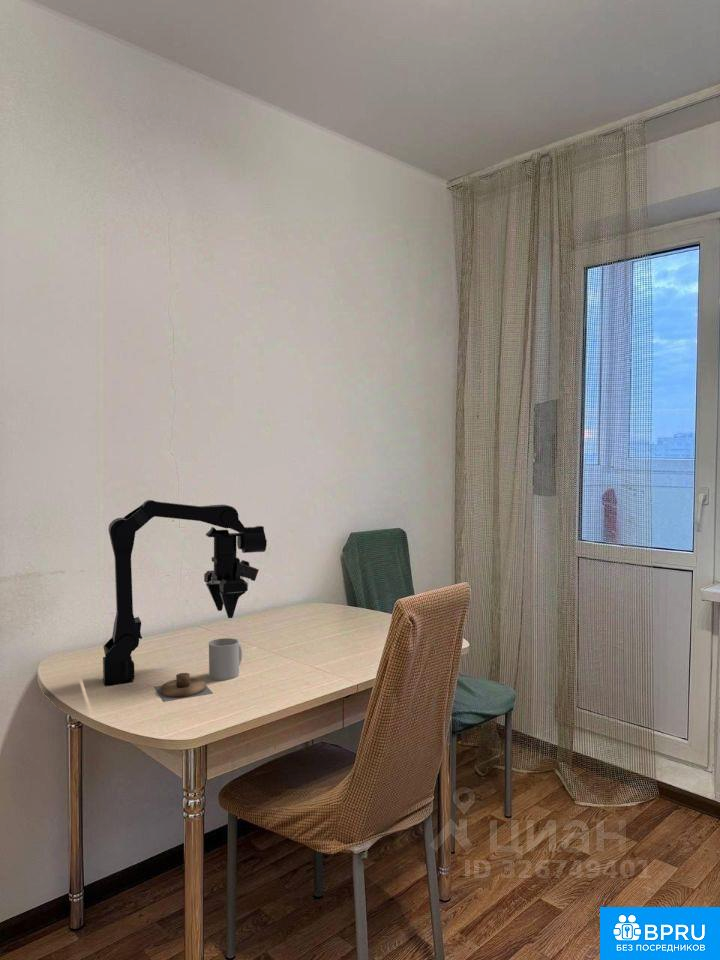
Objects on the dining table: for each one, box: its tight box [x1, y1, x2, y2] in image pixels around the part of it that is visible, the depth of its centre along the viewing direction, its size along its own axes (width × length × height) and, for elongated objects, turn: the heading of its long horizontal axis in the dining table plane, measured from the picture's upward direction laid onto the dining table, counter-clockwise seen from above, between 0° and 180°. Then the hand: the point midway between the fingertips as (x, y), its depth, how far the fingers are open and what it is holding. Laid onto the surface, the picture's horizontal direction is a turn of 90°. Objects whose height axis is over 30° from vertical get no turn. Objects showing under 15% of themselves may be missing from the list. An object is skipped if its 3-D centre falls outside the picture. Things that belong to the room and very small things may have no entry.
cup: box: [208, 637, 243, 681], centre depth 167 cm, size 7×10×9 cm
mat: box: [154, 678, 214, 703], centre depth 155 cm, size 11×11×1 cm
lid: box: [160, 672, 206, 698], centre depth 155 cm, size 10×10×4 cm
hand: (225, 614), depth 173 cm, fingers open, 9 cm apart
